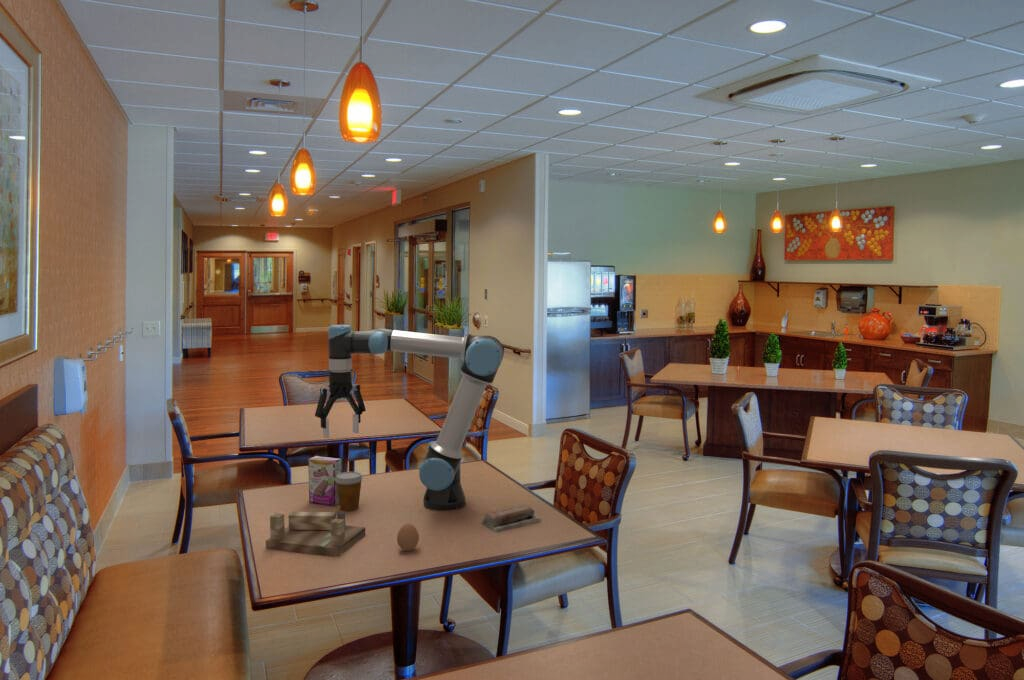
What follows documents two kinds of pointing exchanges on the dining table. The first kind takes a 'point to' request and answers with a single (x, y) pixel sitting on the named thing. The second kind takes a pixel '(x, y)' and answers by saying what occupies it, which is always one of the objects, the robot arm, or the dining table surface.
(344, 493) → the disposable coffee cup
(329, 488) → the candy bar box
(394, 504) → the dining table surface
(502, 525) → the stapler
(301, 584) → the dining table surface
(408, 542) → the egg
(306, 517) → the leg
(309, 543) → the wooden block assembly
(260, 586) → the dining table surface
